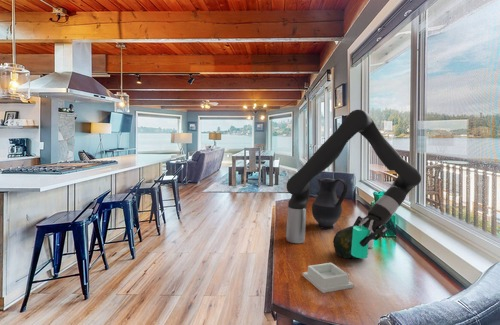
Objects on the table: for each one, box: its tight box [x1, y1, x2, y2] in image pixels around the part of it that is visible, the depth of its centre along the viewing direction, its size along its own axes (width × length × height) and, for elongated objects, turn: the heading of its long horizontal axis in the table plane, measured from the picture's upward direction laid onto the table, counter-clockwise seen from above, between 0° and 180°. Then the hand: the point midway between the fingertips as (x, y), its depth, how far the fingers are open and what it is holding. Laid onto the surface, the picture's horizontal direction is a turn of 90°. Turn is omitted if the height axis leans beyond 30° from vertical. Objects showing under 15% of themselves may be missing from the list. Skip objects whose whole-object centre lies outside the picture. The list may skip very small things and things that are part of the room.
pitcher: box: [311, 178, 348, 230], centre depth 170 cm, size 17×21×30 cm
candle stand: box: [302, 262, 355, 294], centre depth 106 cm, size 13×13×4 cm
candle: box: [351, 224, 369, 259], centre depth 110 cm, size 6×6×12 cm
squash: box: [332, 225, 358, 259], centre depth 130 cm, size 14×15×15 cm
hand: (356, 242), depth 109 cm, fingers closed on candle, 5 cm apart
